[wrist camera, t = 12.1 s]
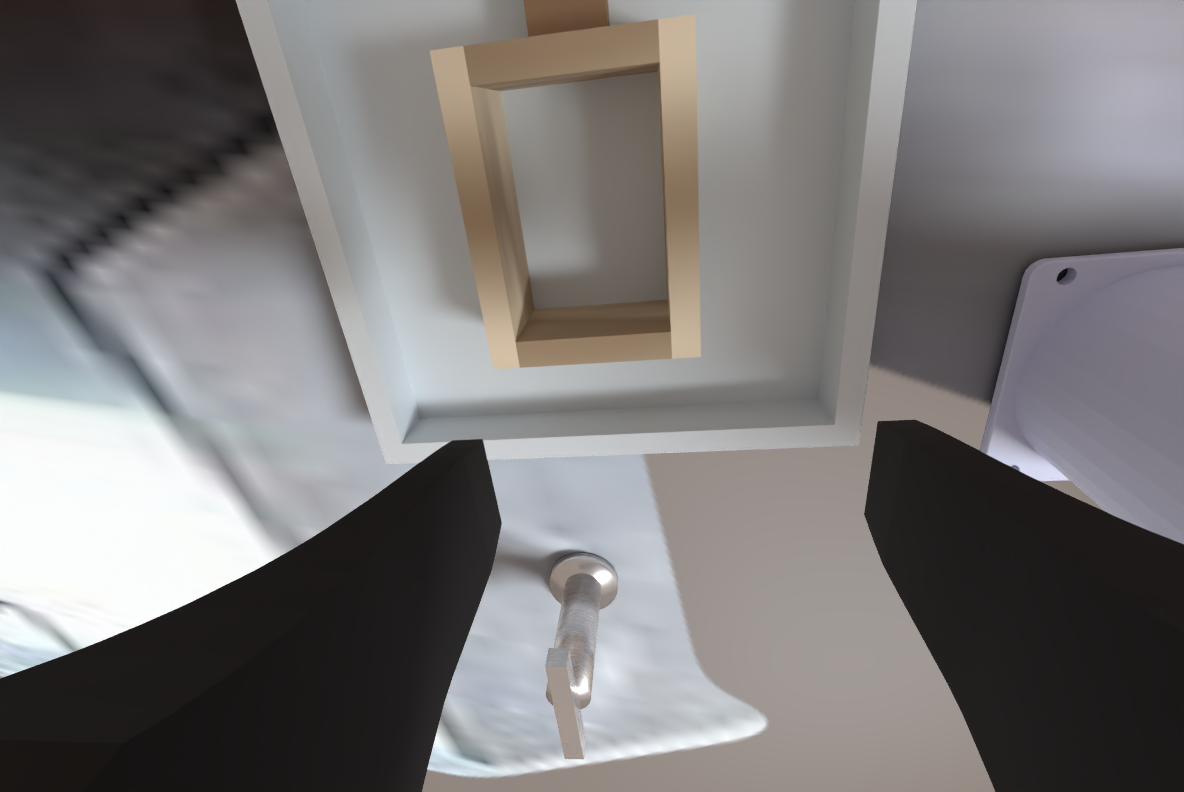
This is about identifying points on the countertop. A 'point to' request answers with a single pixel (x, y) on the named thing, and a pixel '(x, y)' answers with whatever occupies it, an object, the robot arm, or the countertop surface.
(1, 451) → the countertop surface
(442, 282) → the tray
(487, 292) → the wooden lantern frame
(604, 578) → the t head stake
